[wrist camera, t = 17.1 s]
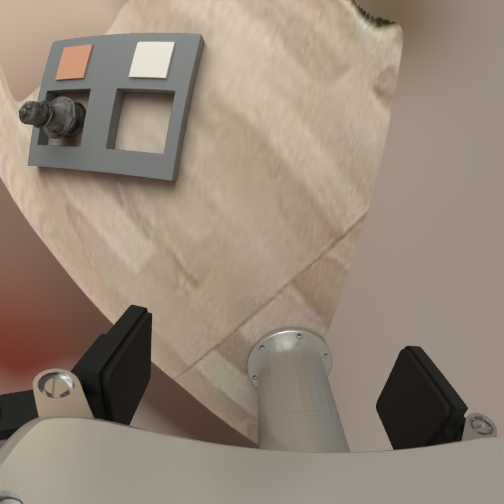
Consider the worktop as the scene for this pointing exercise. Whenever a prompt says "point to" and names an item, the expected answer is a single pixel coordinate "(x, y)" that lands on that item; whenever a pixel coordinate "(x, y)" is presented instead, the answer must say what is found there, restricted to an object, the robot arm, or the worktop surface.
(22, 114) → the salt shaker
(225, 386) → the worktop surface
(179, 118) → the socket board
